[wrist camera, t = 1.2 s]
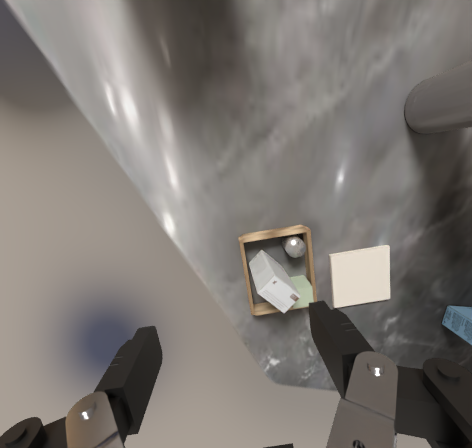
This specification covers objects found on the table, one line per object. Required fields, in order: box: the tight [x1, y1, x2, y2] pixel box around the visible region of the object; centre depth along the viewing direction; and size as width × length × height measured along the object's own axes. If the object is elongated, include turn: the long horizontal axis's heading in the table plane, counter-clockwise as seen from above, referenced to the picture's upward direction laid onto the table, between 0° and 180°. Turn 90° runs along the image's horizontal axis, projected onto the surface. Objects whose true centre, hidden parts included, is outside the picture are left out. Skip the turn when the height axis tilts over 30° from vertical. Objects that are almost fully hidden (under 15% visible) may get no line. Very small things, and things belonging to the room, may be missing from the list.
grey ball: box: [282, 234, 306, 258], centre depth 46 cm, size 4×4×4 cm
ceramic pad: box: [329, 245, 390, 308], centre depth 50 cm, size 12×12×1 cm
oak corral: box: [239, 225, 317, 316], centre depth 48 cm, size 13×16×3 cm
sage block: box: [290, 275, 314, 309], centre depth 48 cm, size 4×4×5 cm
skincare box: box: [249, 250, 301, 313], centre depth 43 cm, size 6×4×12 cm
